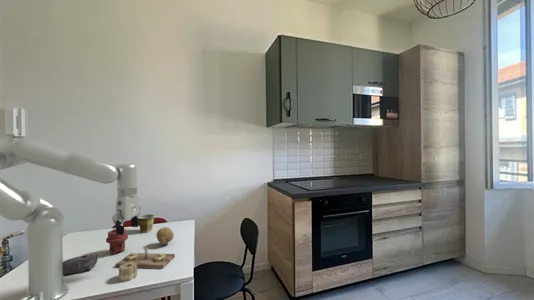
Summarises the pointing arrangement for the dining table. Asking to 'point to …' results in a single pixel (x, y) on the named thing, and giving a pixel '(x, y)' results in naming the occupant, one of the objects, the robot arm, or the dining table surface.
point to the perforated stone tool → (79, 264)
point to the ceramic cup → (146, 223)
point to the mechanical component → (116, 241)
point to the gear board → (147, 260)
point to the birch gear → (127, 271)
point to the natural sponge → (164, 235)
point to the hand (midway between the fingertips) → (127, 230)
